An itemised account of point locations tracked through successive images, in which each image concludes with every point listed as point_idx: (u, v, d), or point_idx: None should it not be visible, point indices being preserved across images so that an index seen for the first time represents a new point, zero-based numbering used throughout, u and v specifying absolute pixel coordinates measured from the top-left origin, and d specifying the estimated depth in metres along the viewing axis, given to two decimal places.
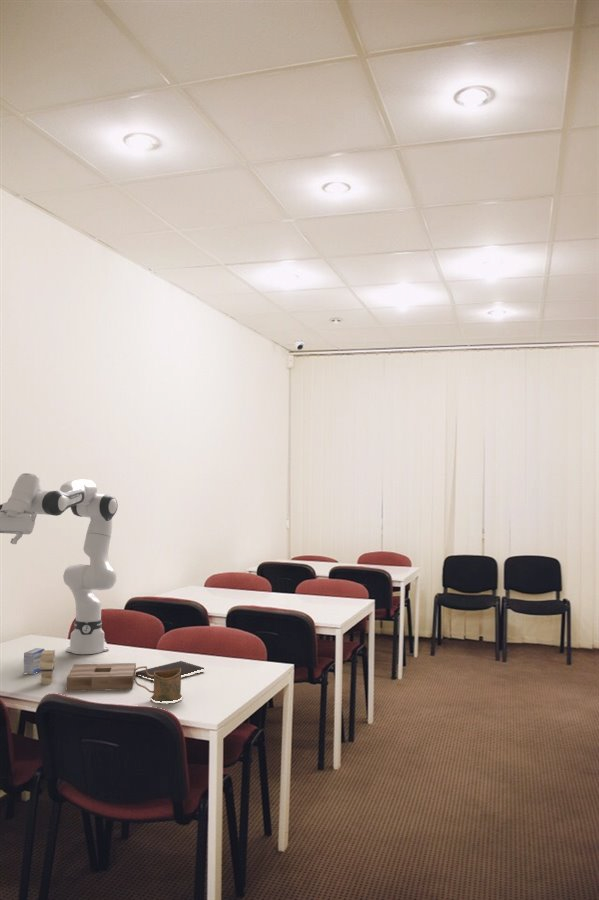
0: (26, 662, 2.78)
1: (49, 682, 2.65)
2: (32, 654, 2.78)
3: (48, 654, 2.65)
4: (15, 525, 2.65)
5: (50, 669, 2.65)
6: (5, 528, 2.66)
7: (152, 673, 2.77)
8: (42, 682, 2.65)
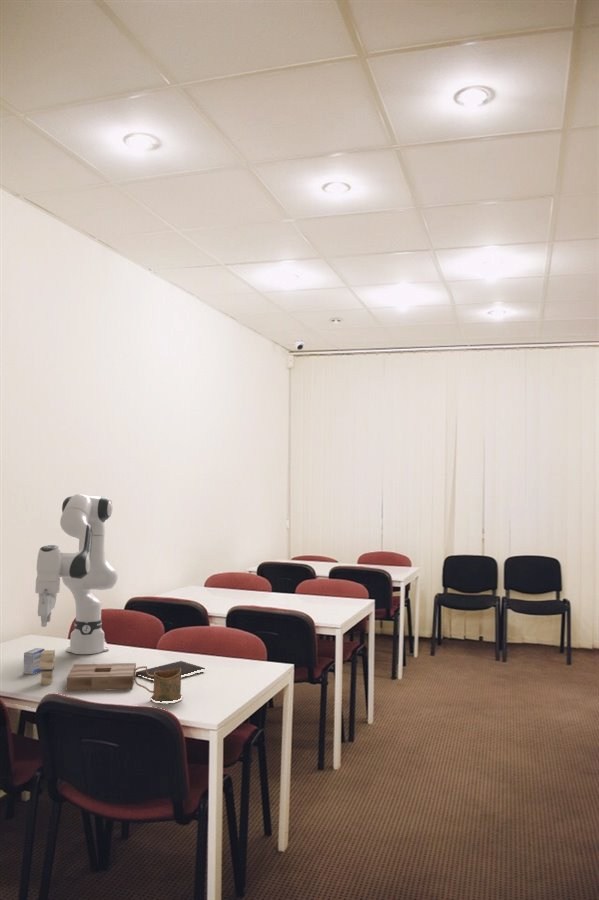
0: (26, 662, 2.78)
1: (49, 682, 2.65)
2: (32, 654, 2.78)
3: (48, 654, 2.65)
4: None
5: (50, 669, 2.65)
6: None
7: (152, 673, 2.77)
8: (42, 682, 2.65)
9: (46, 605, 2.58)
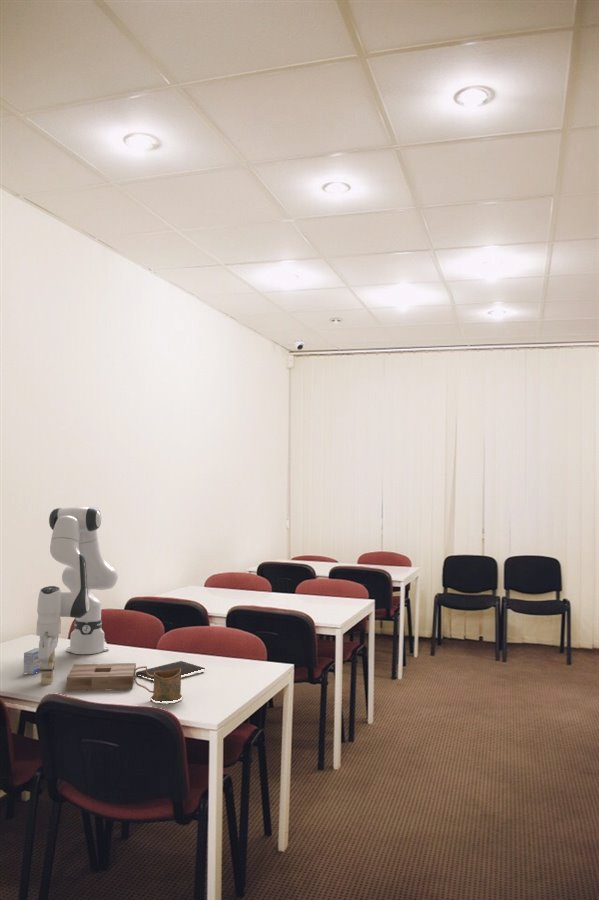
0: (26, 662, 2.78)
1: (49, 682, 2.65)
2: (32, 654, 2.78)
3: None
4: None
5: (50, 669, 2.65)
6: None
7: (152, 673, 2.77)
8: (42, 682, 2.65)
9: (46, 649, 2.58)
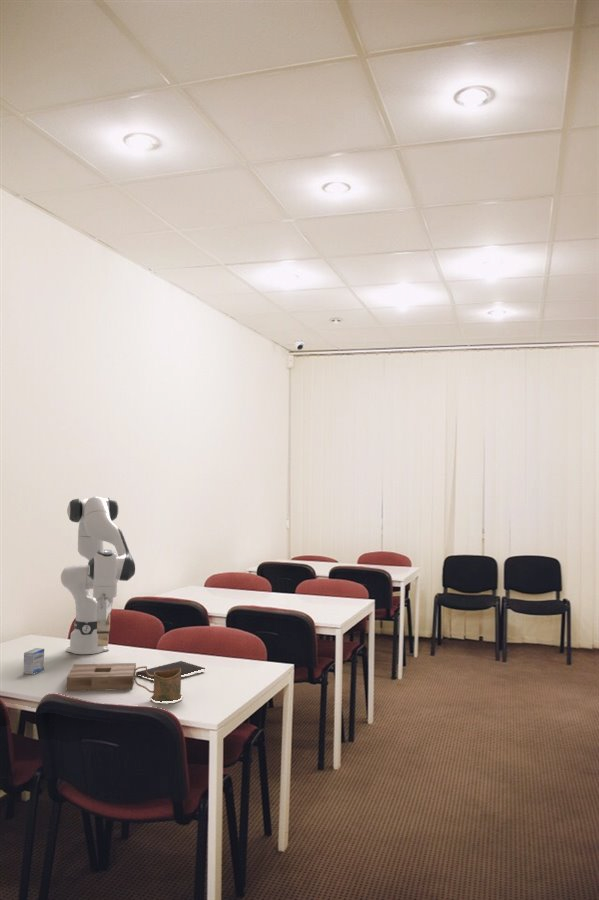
0: (26, 662, 2.78)
1: (106, 644, 2.67)
2: (32, 654, 2.78)
3: None
4: None
5: (107, 631, 2.67)
6: None
7: (152, 673, 2.77)
8: (99, 644, 2.67)
9: (104, 610, 2.60)
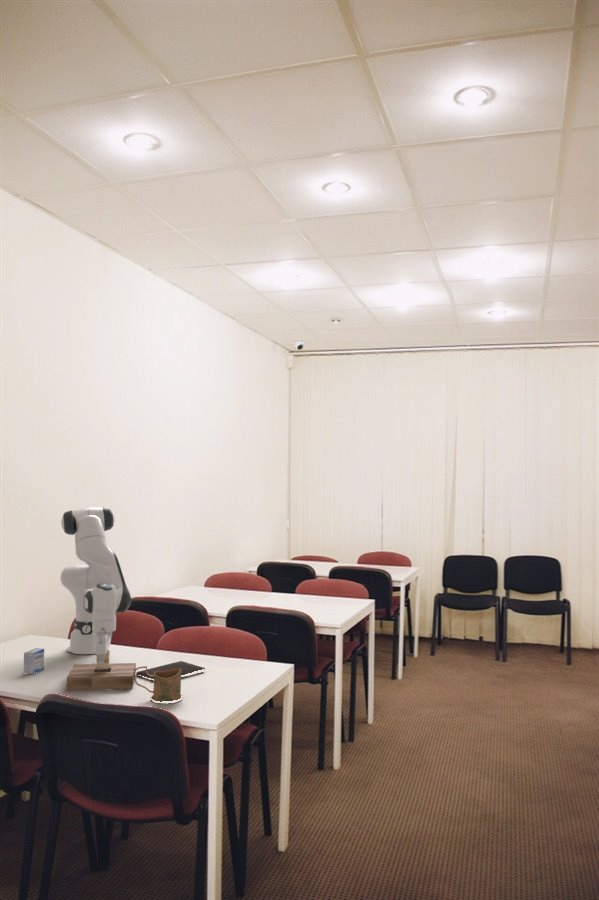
0: (26, 662, 2.78)
1: None
2: (32, 654, 2.78)
3: None
4: None
5: (106, 669, 2.67)
6: None
7: (153, 673, 2.77)
8: None
9: (104, 645, 2.60)
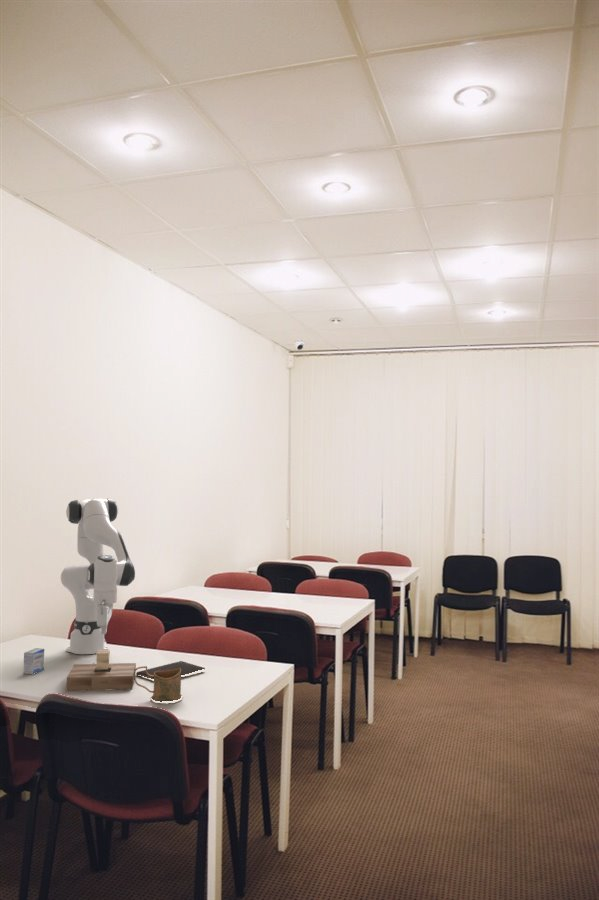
0: (26, 662, 2.78)
1: None
2: (32, 654, 2.78)
3: (104, 654, 2.67)
4: None
5: (106, 669, 2.67)
6: None
7: (153, 673, 2.77)
8: None
9: (105, 616, 2.60)
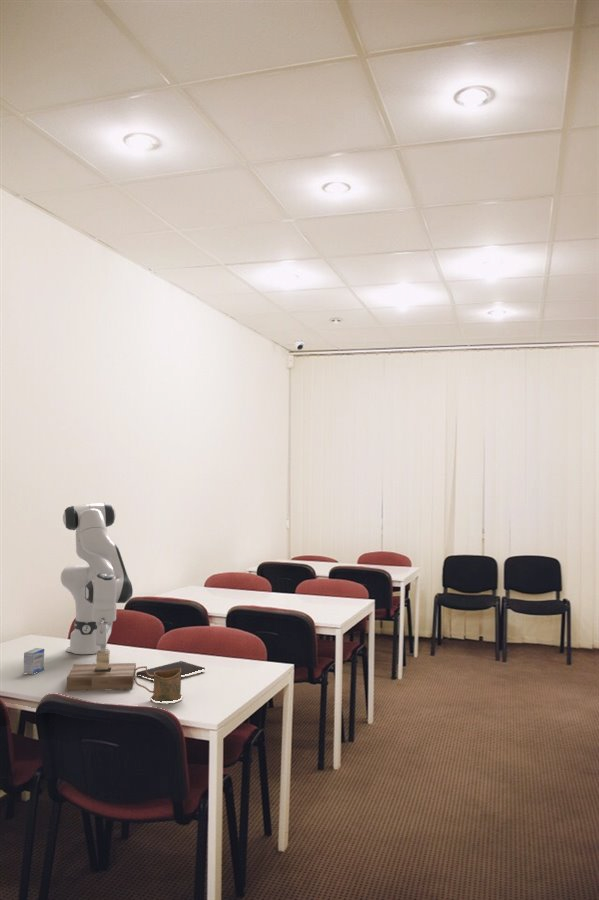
0: (26, 662, 2.78)
1: None
2: (32, 654, 2.78)
3: (104, 654, 2.67)
4: None
5: (106, 669, 2.67)
6: None
7: (153, 673, 2.77)
8: None
9: (104, 634, 2.60)
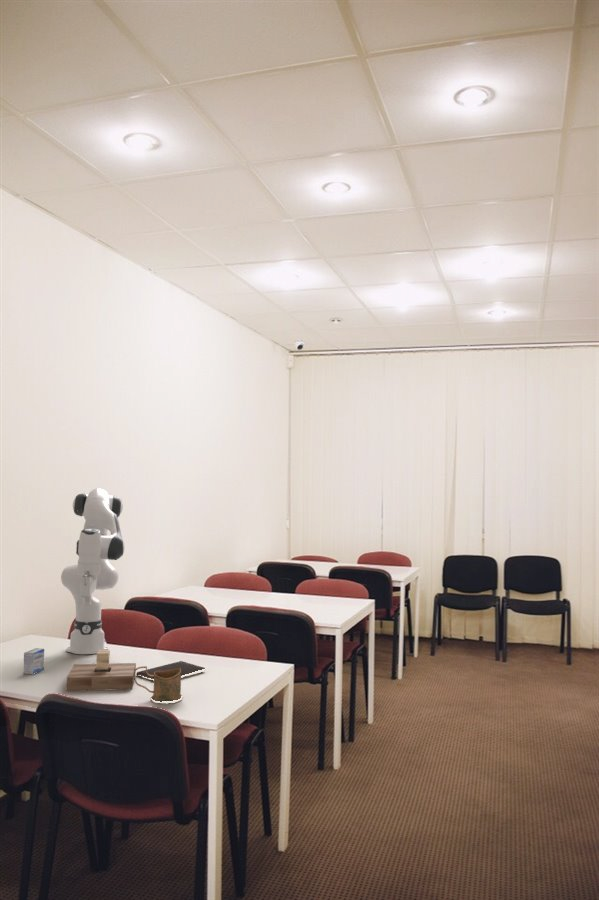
0: (26, 662, 2.78)
1: None
2: (32, 654, 2.78)
3: (104, 654, 2.67)
4: None
5: (106, 669, 2.67)
6: None
7: (153, 673, 2.77)
8: None
9: (88, 587, 2.64)
